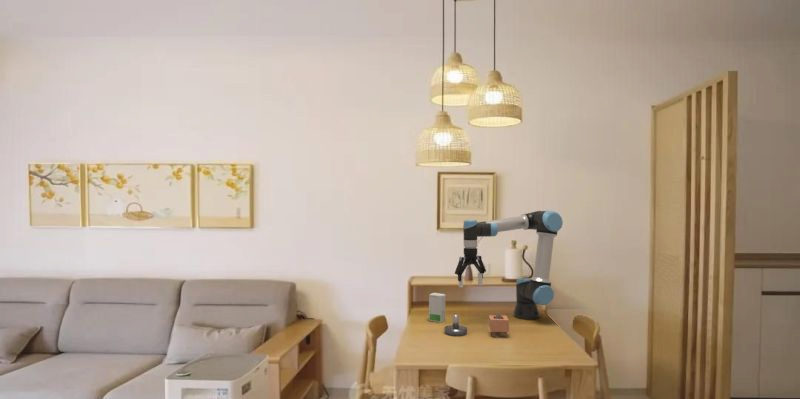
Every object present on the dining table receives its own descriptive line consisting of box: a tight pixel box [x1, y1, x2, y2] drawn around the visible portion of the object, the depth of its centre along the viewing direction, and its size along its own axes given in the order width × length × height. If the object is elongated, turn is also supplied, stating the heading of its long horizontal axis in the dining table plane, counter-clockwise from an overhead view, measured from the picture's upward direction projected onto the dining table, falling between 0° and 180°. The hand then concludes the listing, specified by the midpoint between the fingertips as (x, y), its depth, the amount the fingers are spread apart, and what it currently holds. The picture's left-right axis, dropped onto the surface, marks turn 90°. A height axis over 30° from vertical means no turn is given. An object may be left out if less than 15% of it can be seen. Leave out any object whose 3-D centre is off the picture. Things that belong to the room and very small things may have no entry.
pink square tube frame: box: [488, 314, 510, 333], centre depth 219 cm, size 9×9×6 cm
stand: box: [490, 314, 508, 338], centre depth 219 cm, size 7×7×10 cm
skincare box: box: [428, 292, 447, 323], centre depth 248 cm, size 8×7×16 cm
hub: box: [443, 313, 468, 337], centre depth 223 cm, size 12×12×10 cm
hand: (470, 286), depth 233 cm, fingers open, 13 cm apart
